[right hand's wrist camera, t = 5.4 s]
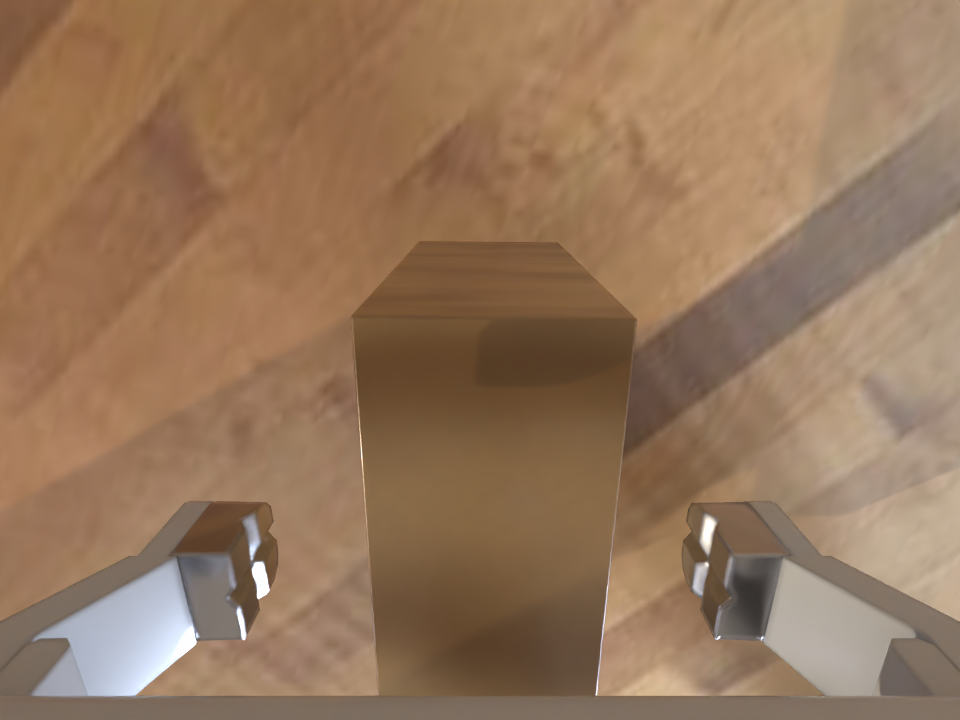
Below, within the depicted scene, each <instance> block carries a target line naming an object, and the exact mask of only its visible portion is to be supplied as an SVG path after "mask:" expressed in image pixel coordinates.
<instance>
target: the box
mask: <svg viewBox="0 0 960 720" xmlns="http://www.w3.org/2000/svg"><path fill="white" fill-rule="evenodd" d="M636 327H637V319H636V318H635V317H634V316H633V315H632V314H631V313H630V312H629V311H628V310H627V309H626V308H625V307H624V306H623V305H622V304H621V303H620V302H619V301H618V300H617V299H616V298H614V297H613V296H612V295H611V294H610V293H609V292H608V291H607V290H606V289H605V288H604V287H603V286H602V285H601V284H600V283H599V282H598V281H597V280H596V279H595V278H594V277H593V276H592V275H591V274H590V273H589V272H588V271H587V270H586V269H585V268H584V267H583V266H581V265H580V264H579V263H578V262H577V261H576V260H575V259H574V258H573V257H572V256H571V255H570V254H569V253H568V252H567V251H566V250H565V249H564V248H563V247H562V246H561V245H560V244H559V243H553V242H446V241H420V242H419V243H418V244H417V245H416V246H415V247H414V248H413V249H412V250H411V251H410V252H409V253H408V255H407V256H406V257H405V258H404V259H403V260H402V261H401V262H400V263H399V264H398V266H397V267H396V268H395V269H394V270H393V271H392V272H391V273H390V274H389V275H388V277H387V278H386V279H385V280H384V281H383V282H382V283H381V284H380V285H379V286H378V288H377V289H376V290H375V291H374V292H373V293H372V294H371V295H370V296H369V297H368V299H367V300H366V301H365V302H364V303H363V304H362V305H361V306H360V307H359V308H358V310H357V311H356V312H355V313H354V314H353V315H352V316H351V328H352V341H353V355H354V369H355V383H356V396H357V410H358V424H359V438H360V451H361V465H362V479H363V493H364V506H365V520H366V534H367V548H368V561H369V575H370V589H371V603H372V616H373V630H374V644H375V658H376V671H377V685H378V696H597V688H598V679H599V670H600V661H601V651H602V642H603V633H604V624H605V614H606V605H607V596H608V587H609V577H610V568H611V559H612V549H613V540H614V531H615V522H616V512H617V503H618V494H619V485H620V475H621V466H622V457H623V448H624V438H625V429H626V420H627V411H628V401H629V392H630V383H631V374H632V364H633V355H634V346H635V337H636Z"/></svg>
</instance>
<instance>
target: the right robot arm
mask: <svg viewBox="0 0 960 720" xmlns="http://www.w3.org/2000/svg"><path fill="white" fill-rule="evenodd" d="M273 521H274V520H273V515H272V510H271V506H270V505H269V504H268V503H266V502H226V501H216V502H214V501H190V502H187V503H184V504H183V505H182V506H181V507H180V508H179V510H178V511H177V512H176V513H175V514H174V515H173V516H172V518H171V519H170V520H169V521H168V522H167V523H166V524H165V526H164V527H163V528H162V529H161V530H160V531H159V532H158V533H157V535H156V536H155V537H154V538H153V539H152V540H151V541H150V543H149V544H148V545H147V546H146V547H145V548H144V549H143V551H142V552H141V553H140V554H139V555H138V556H129V557H127V558H125V559H123V560H121V561H119V562H117V563H115V564H113V565H111V566H109V567H107V568H105V569H103V570H101V571H99V572H97V573H95V574H93V575H91V576H89V577H87V578H85V579H83V580H81V581H79V582H77V583H75V584H73V585H71V586H69V587H67V588H65V589H64V590H62V591H60V592H58V593H56V594H54V595H52V596H50V597H48V598H46V599H44V600H42V601H40V602H38V603H36V604H34V605H32V606H30V607H28V608H26V609H24V610H22V611H20V612H18V613H16V614H14V615H12V616H10V617H8V618H6V619H4V620H2V621H0V720H960V622H959V621H957V620H955V619H953V618H951V617H949V616H947V615H945V614H943V613H941V612H940V611H938V610H936V609H934V608H932V607H930V606H928V605H926V604H924V603H922V602H920V601H918V600H916V599H914V598H912V597H910V596H908V595H906V594H904V593H902V592H900V591H898V590H896V589H894V588H892V587H890V586H888V585H886V584H885V583H883V582H881V581H879V580H877V579H875V578H873V577H871V576H869V575H867V574H865V573H863V572H861V571H859V570H857V569H855V568H853V567H851V566H849V565H847V564H845V563H843V562H841V561H839V560H837V559H835V558H833V557H831V556H822V555H821V554H820V553H819V552H818V551H817V549H816V548H815V547H814V546H813V545H812V544H811V543H810V541H809V540H808V539H807V538H806V537H805V536H804V535H803V534H802V532H801V531H800V530H799V529H798V528H797V527H796V526H795V524H794V523H793V522H792V521H791V520H790V519H789V518H788V516H787V515H786V514H785V513H784V512H783V511H782V510H781V508H780V507H779V506H778V505H777V504H776V503H773V502H771V501H750V502H728V503H691V505H690V507H689V509H688V514H687V520H686V521H687V523H688V525H689V527H690V528H691V530H692V532H691V533H690V534H689V535H688V536H687V537H686V538H685V539H684V540H683V547H682V565H683V572H684V575H685V579H686V582H687V584H688V586H689V588H690V590H691V591H692V592H693V593H694V594H696V595H697V596H699V597H700V598H701V599H702V602H701V608H700V610H701V612H702V614H703V616H704V618H705V620H706V622H707V624H708V626H709V628H710V630H711V632H712V634H713V636H714V638H715V639H721V640H757V641H764V642H763V643H764V644H765V645H766V646H768V647H769V648H770V649H771V650H772V651H773V652H775V653H776V654H777V655H778V656H779V657H780V658H782V659H783V660H784V661H785V662H786V663H788V664H789V665H790V666H791V667H792V668H793V669H795V670H796V671H797V672H798V673H799V674H800V675H802V676H803V677H804V678H805V679H806V680H808V681H809V682H810V683H811V684H812V685H813V686H815V687H816V688H817V689H818V690H819V691H821V692H822V693H823V694H824V695H825V696H135V695H136V694H137V693H138V692H140V691H141V690H142V689H143V688H144V687H146V686H147V685H148V684H149V683H150V682H151V681H153V680H154V679H155V678H156V677H157V676H159V675H160V674H161V673H162V672H163V671H164V670H166V669H167V668H168V667H169V666H170V665H172V664H173V663H174V662H175V661H176V660H177V659H179V658H180V657H181V656H182V655H183V654H184V653H186V652H187V651H188V650H189V649H190V648H192V647H193V646H194V645H195V644H196V641H203V640H237V639H245V638H246V636H247V634H248V632H249V630H250V628H251V626H252V624H253V622H254V620H255V618H256V616H257V614H258V612H259V610H260V608H259V602H258V599H259V598H260V597H261V596H263V595H264V594H266V593H267V592H268V591H269V590H270V588H271V586H272V584H273V581H274V579H275V575H276V570H277V566H278V546H277V540H276V539H275V538H274V537H273V536H272V535H271V534H270V533H269V532H268V530H269V528H270V527H271V525H272V523H273Z"/></svg>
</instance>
